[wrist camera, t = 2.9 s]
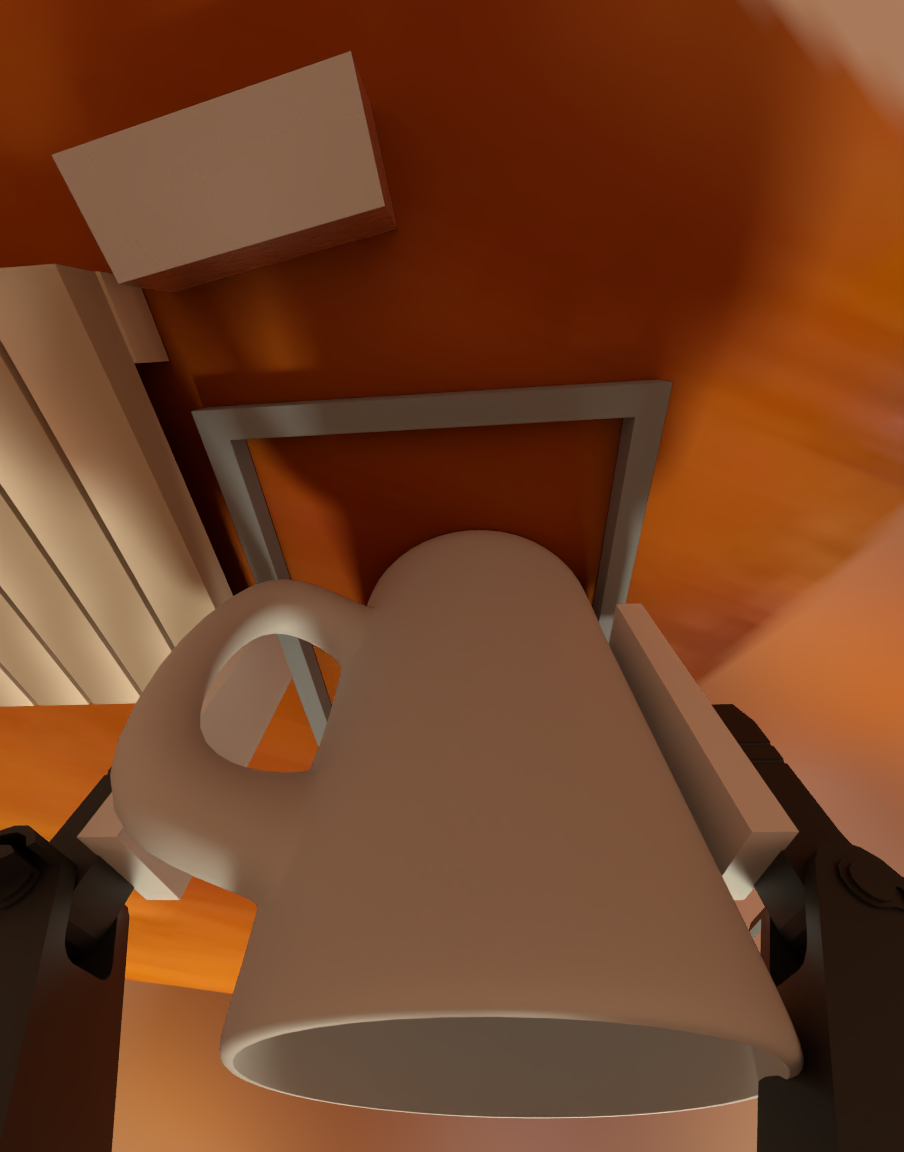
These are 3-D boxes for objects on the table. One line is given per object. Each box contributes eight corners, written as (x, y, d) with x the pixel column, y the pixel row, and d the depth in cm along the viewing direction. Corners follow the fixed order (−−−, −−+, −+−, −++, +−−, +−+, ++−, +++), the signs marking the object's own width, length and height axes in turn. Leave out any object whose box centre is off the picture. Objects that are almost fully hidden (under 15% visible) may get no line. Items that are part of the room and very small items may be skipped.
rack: (36, 665, 17) (-18, 706, 15) (-264, 310, 10) (-429, 302, 8) (283, 658, 16) (260, 700, 14) (137, 278, 10) (59, 263, 8)
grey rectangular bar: (177, 294, 10) (118, 283, 8) (129, 191, 9) (50, 154, 7) (398, 231, 9) (384, 206, 8) (373, 111, 8) (350, 50, 7)
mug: (634, 599, 14) (960, 1081, 5) (500, 723, 18) (542, 1130, 9) (338, 415, 11) (-285, 788, 2) (251, 612, 15) (-97, 1059, 6)
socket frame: (324, 734, 19) (319, 748, 18) (207, 406, 11) (190, 411, 10) (590, 728, 18) (595, 743, 18) (659, 379, 11) (673, 381, 10)
